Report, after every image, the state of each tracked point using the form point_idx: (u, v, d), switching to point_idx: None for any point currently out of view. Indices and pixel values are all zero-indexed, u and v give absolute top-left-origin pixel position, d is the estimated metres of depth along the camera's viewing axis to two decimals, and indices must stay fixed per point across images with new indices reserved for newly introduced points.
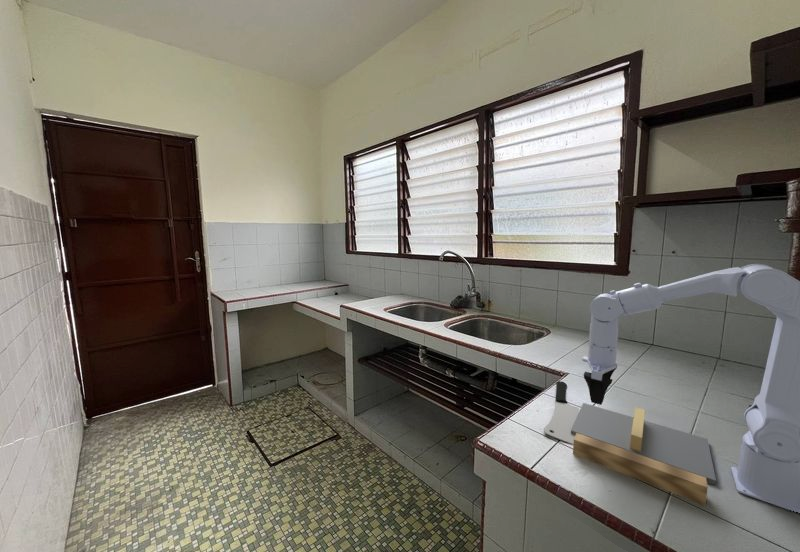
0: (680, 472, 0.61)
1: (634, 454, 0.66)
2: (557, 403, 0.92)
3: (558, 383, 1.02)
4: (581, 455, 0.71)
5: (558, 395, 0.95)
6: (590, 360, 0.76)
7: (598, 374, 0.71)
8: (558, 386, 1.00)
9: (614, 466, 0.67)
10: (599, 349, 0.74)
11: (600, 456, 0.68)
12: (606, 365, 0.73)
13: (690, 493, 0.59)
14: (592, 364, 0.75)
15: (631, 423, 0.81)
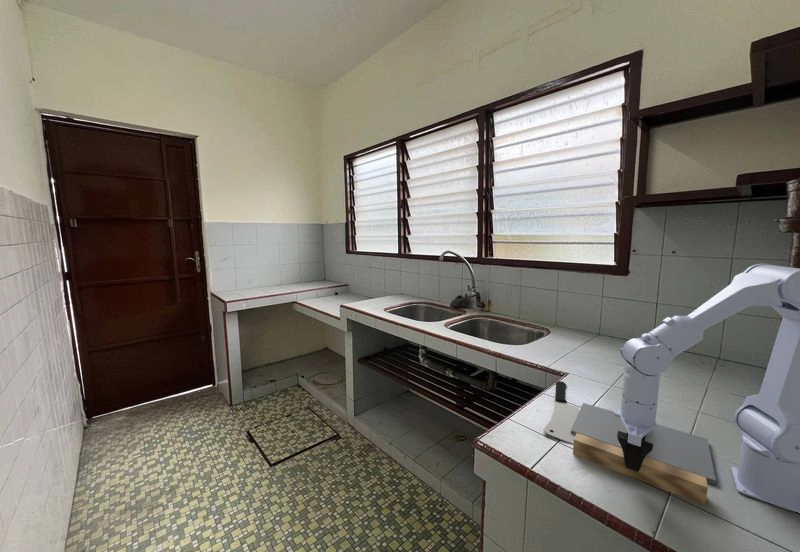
0: (680, 473, 0.61)
1: None
2: (557, 403, 0.92)
3: (558, 383, 1.02)
4: (582, 455, 0.71)
5: (558, 395, 0.95)
6: (624, 417, 0.64)
7: (637, 439, 0.59)
8: (558, 386, 1.01)
9: (614, 466, 0.67)
10: (636, 406, 0.62)
11: (600, 456, 0.68)
12: (644, 425, 0.62)
13: (690, 493, 0.59)
14: (627, 422, 0.63)
15: None
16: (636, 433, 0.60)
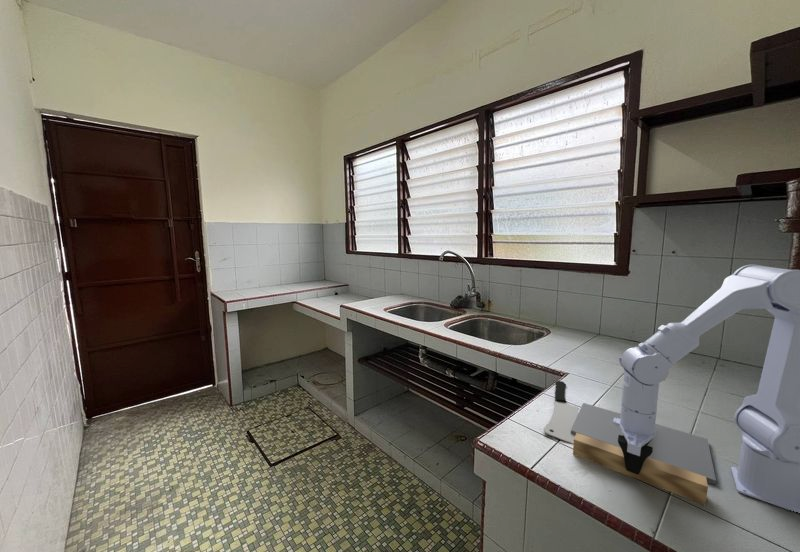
0: (680, 472, 0.61)
1: None
2: (556, 403, 0.92)
3: (557, 383, 1.03)
4: (582, 455, 0.71)
5: (557, 395, 0.95)
6: (623, 425, 0.65)
7: (636, 448, 0.59)
8: (557, 386, 1.01)
9: (614, 466, 0.67)
10: (635, 415, 0.62)
11: (600, 456, 0.68)
12: (644, 434, 0.62)
13: (690, 492, 0.59)
14: (626, 431, 0.64)
15: None
16: (635, 442, 0.60)
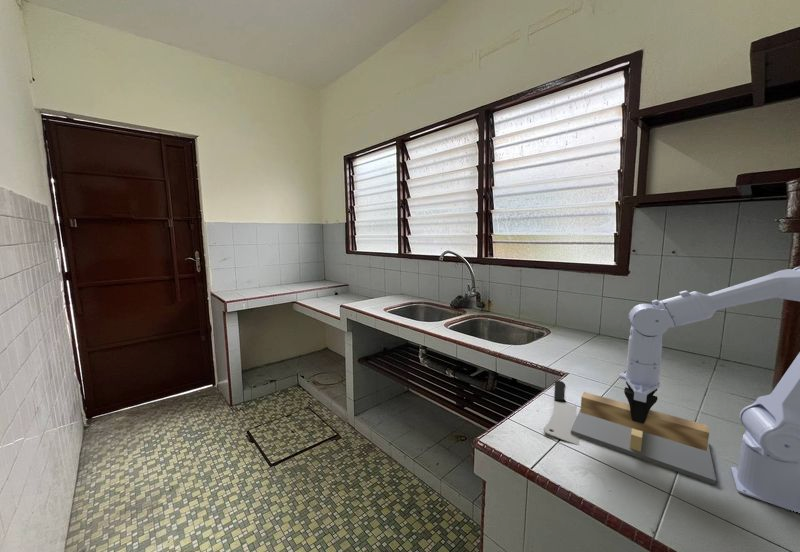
0: (683, 421, 0.65)
1: None
2: (556, 402, 0.92)
3: (556, 382, 1.03)
4: (589, 412, 0.74)
5: (557, 394, 0.95)
6: (629, 378, 0.68)
7: (642, 395, 0.63)
8: (557, 385, 1.01)
9: (620, 420, 0.71)
10: (641, 366, 0.66)
11: (607, 411, 0.72)
12: (649, 384, 0.66)
13: (692, 439, 0.63)
14: (632, 383, 0.67)
15: None
16: (641, 391, 0.64)
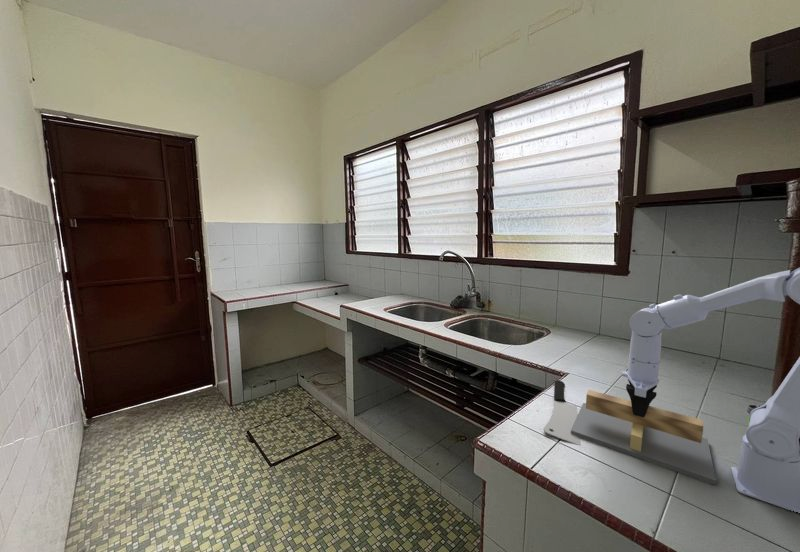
0: (680, 416, 0.71)
1: None
2: (556, 402, 0.92)
3: (556, 382, 1.03)
4: (593, 408, 0.81)
5: (556, 394, 0.96)
6: (631, 375, 0.74)
7: (642, 391, 0.69)
8: (556, 385, 1.01)
9: (622, 415, 0.77)
10: (641, 365, 0.72)
11: (610, 407, 0.78)
12: (649, 381, 0.72)
13: (688, 433, 0.69)
14: (633, 380, 0.73)
15: (631, 423, 0.81)
16: (642, 387, 0.70)
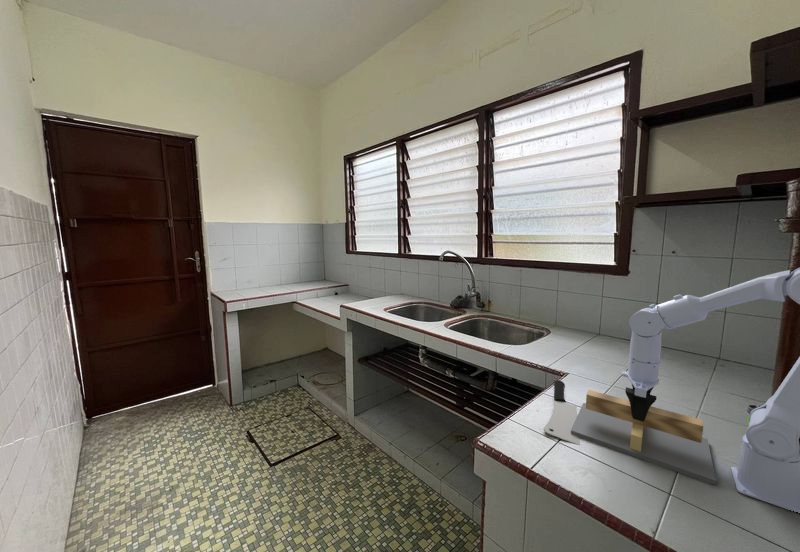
0: (680, 416, 0.71)
1: None
2: (556, 402, 0.92)
3: (556, 382, 1.03)
4: (593, 408, 0.81)
5: (556, 394, 0.96)
6: (631, 375, 0.74)
7: (642, 391, 0.69)
8: (556, 385, 1.01)
9: (622, 415, 0.77)
10: (641, 365, 0.72)
11: (610, 407, 0.78)
12: (649, 381, 0.72)
13: (688, 432, 0.69)
14: (633, 380, 0.73)
15: (631, 423, 0.81)
16: (642, 387, 0.70)
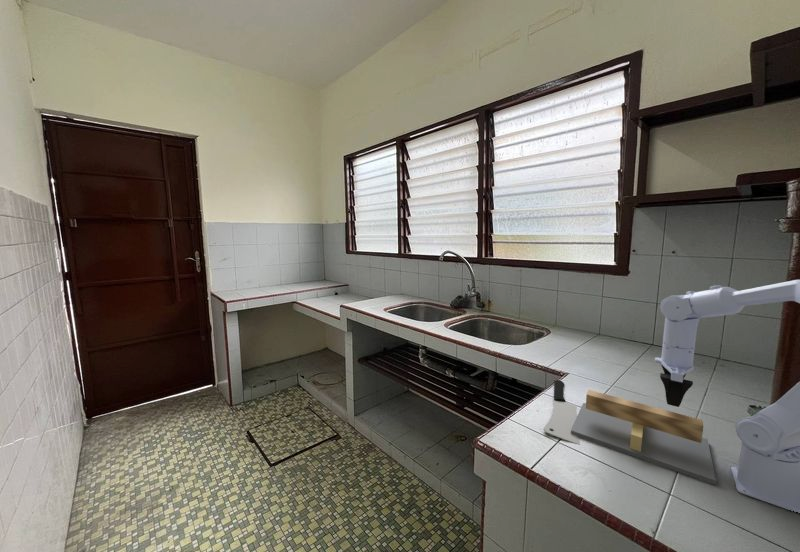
0: (680, 416, 0.71)
1: (639, 404, 0.76)
2: (555, 402, 0.93)
3: (556, 382, 1.03)
4: (593, 408, 0.81)
5: (556, 394, 0.96)
6: (665, 361, 0.75)
7: (679, 376, 0.69)
8: (556, 385, 1.01)
9: (622, 415, 0.77)
10: (677, 350, 0.72)
11: (610, 407, 0.78)
12: (684, 366, 0.72)
13: (688, 432, 0.69)
14: (668, 365, 0.74)
15: (631, 423, 0.81)
16: (678, 372, 0.70)
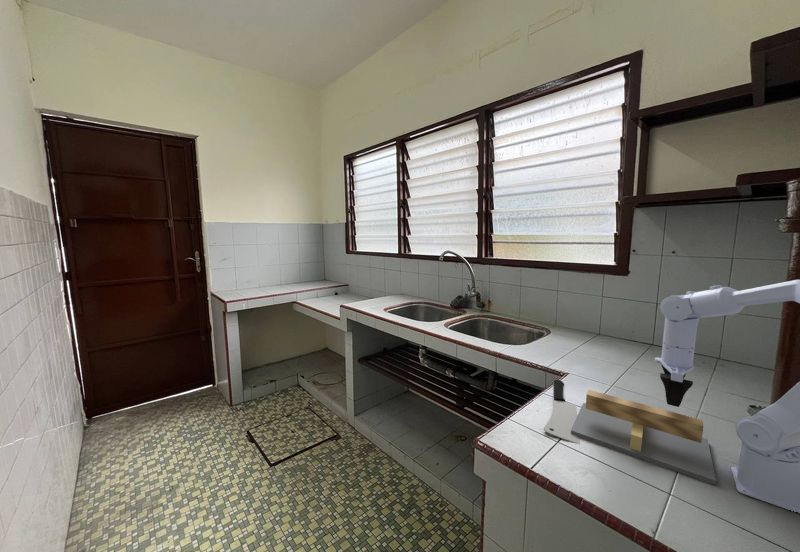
0: (680, 416, 0.71)
1: (639, 404, 0.76)
2: (555, 401, 0.93)
3: (555, 382, 1.03)
4: (593, 408, 0.81)
5: (556, 393, 0.96)
6: (665, 361, 0.75)
7: (679, 376, 0.69)
8: (555, 385, 1.01)
9: (622, 415, 0.77)
10: (677, 350, 0.72)
11: (610, 407, 0.78)
12: (684, 366, 0.72)
13: (688, 432, 0.69)
14: (668, 365, 0.74)
15: (631, 423, 0.81)
16: (678, 372, 0.70)
